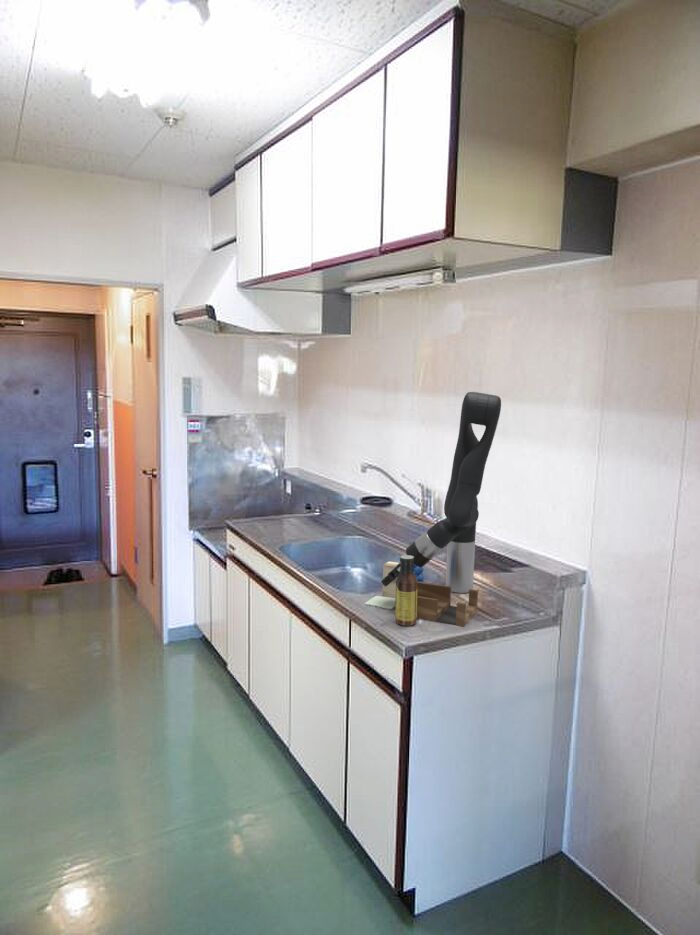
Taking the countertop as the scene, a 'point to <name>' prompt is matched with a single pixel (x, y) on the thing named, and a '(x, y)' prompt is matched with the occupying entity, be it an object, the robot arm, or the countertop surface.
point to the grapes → (418, 573)
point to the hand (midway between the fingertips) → (386, 581)
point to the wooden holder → (443, 605)
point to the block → (391, 588)
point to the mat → (382, 602)
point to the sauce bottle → (406, 593)
